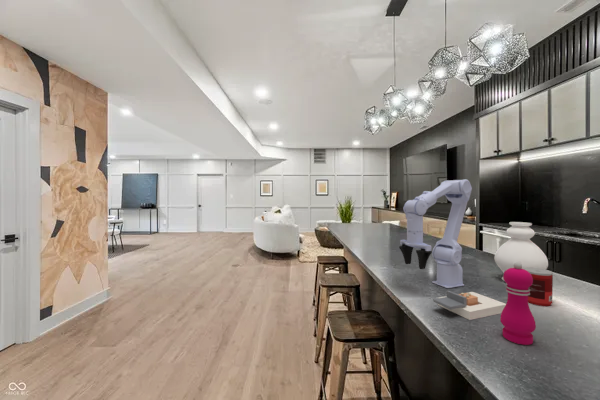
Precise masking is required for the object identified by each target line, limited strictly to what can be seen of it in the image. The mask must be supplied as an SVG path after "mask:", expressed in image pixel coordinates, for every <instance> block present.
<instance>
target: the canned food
mask: <svg viewBox="0 0 600 400" xmlns="http://www.w3.org/2000/svg"><path fill="white" fill-rule="evenodd" d="M524 270H526V271H528V272H529V273H530V274H531V275H532V278H533V283H532V285H531V286H530V287H529V289H530V295H528V304H531V305H536V306H539V307H550V306H552V304H553V290H554V289H553V287H554V286H553V282H554V280H553V271H552V270H548V269H546V270H545V269H540V268H524Z"/></svg>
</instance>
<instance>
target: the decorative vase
mask: <svg viewBox="0 0 600 400" xmlns="http://www.w3.org/2000/svg"><path fill="white" fill-rule="evenodd" d="M508 224H509V225H510V227H508V228H507V229H506V235H508V237H510V238H508V240H506V241H505V242H503V244H501V245H500V246H499V247H498V249H497V250H496V252H494V253H495V254H494V262H495V264H496V266H497V267H498V268H499V269H500V271H501V272H502V273H503V274H504V272H505V271H506V270H507V269H509V268H514V263H516V262H519V263H521V264H522V268H521V269H524V268H540V269H545V270H548V267H549V260H548V257H547V255H546V254H545V253H544V251H543V250H542V249H541V248H540V247H539V246H538V245H537V244H536V243H535V242H533V241H532V240H531V239H532V238H533V237H535V234H536V231H535V230H534V229H532V228H531V227H530V226H532V225H533V223H532V222H523V221H510V222H509V223H508ZM501 280H502V281H503V282H505V281H504V278H503V276H502V277H501Z"/></svg>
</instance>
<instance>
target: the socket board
mask: <svg viewBox="0 0 600 400" xmlns="http://www.w3.org/2000/svg"><path fill="white" fill-rule="evenodd" d="M467 293H471V295H473V296H476V297H478V305H473V306H468V305H467V306H466V307H461V308H456V309H451V310H450V309H448V308H446V307H444V306H442V305H439V304H437V305H438V306H439V307H441V308H443V309H445V310H448V311H449V312H452V313H453V314H457V315H458V316H461V317H462V318H465V319H466V320H469V321H471V320H476V319H483V318H487V317H490V316H495V315H499V314H500V315H501V313H502V311H503V309H504V307H505V305H506V303H504V302H502V301H499V300H497V299H493V298H492V297H489V296H486V295H483V294H481V293H480V294H479V293H477V292H475V291H469V292H467ZM443 297H447V295H446V296H439V297H438V298H443Z"/></svg>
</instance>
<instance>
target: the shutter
mask: <svg viewBox="0 0 600 400" xmlns="http://www.w3.org/2000/svg"><path fill="white" fill-rule="evenodd" d="M459 294H460V293H456V292H454V291H451V290H446V296H447V297H445V296H442V297H443V298H439V297H437V298H433V300H432V301H433V303H435V304H437V305H438V304H439V305H442V306H444V307H446V308H448V309H450V310H451V309H456V308H461V307H466V306H467V297H464V296H462V295H459ZM439 305H438V306H439Z"/></svg>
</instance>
